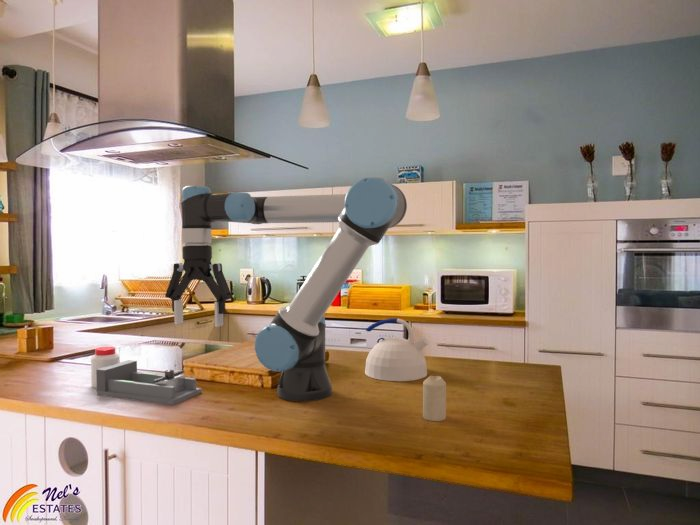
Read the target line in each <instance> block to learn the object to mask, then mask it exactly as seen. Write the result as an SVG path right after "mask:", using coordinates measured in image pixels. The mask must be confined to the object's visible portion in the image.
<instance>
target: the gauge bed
mask: <svg viewBox="0 0 700 525" xmlns="http://www.w3.org/2000/svg"><path fill="white" fill-rule="evenodd" d="M137 361H138V360H129V359H128V360H125V361H122V362H121V361H120V363H117V364H114V365H110V366H107V367H103V368H100V369H96V374H97V388H96V396H102V397H109V398H116V399H125V400H131V401H132V400H133V401H138V400H139V402H146V401H148V402H147V403H153V402H155V403H154V404H161V403H162V405H163V404H164V405H169V406H174V405H176V404H179V403H181V402H184V401H186V400H188V399H190V398H192V397H195V396H197V395H199V394H202V388H201V387H197V378H195V377H187V376H186V377H185V376H184V389H183V390H180V391H178V392H175V387H174V386H166V385H157V384H155V383H154V380H156V379H158V378H161V377H164V376H165V374H159V373H153V372H152V373H151V372H145V371H144V372H141V371H139V372H138V364H137V363H138V362H137Z"/></svg>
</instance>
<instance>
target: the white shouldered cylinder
mask: <svg viewBox="0 0 700 525" xmlns="http://www.w3.org/2000/svg"><path fill="white" fill-rule="evenodd" d="M422 418H423V419H424V420H426V421H429V422H430V421H431V422H441V421H442V422H443V421H445V420H446V419H447V382H446V381H445V380H444V379H443V377H442V376H440V375H435V376H433V375H430V376H428V377H427V378H426V379H425V380H423V382H422Z"/></svg>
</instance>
